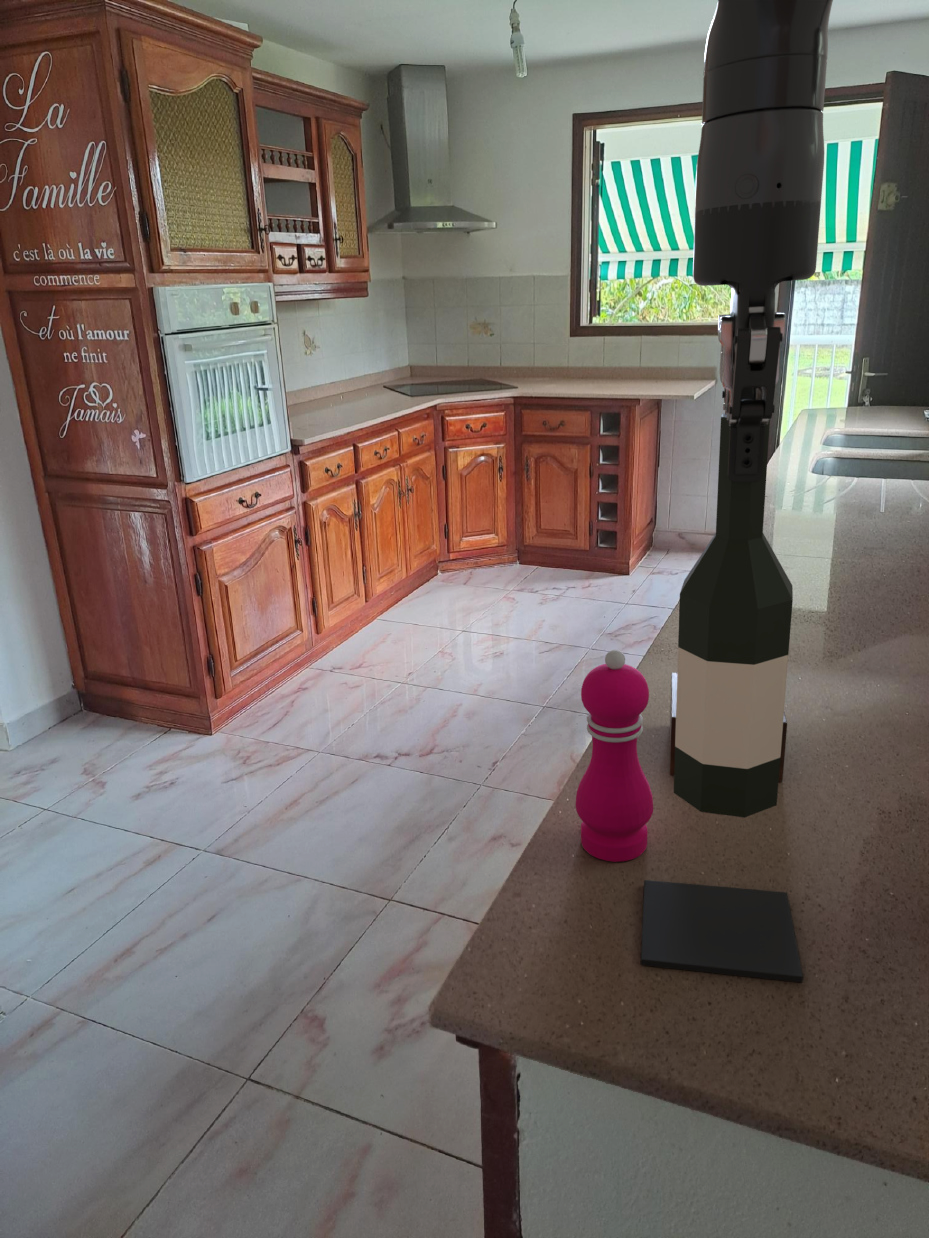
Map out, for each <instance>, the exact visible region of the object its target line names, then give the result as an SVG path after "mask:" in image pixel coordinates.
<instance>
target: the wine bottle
mask: <svg viewBox="0 0 929 1238" xmlns="http://www.w3.org/2000/svg"><path fill="white" fill-rule="evenodd" d="M728 413H729V403H728ZM765 426H766V428H765V445H764V461H763V476H762V478H761V480H759V481H758V482H732V481H730V479H729V477H728V456H729V434H730V426H729V420H727V413H726V414H725V413H722V414H721V415H720V429H719V449H718V450H719V452H718V453H719V454H718V472H717V475H718V476H717V477H718V478H717V497H716V498H717V499H716V519H715V520H716V521H715V533H714V535H713V536H712V538H711V539H710V541H709V543H708V544H707V545H706V547H705V548H704V550H703V551H702V553H701V554H700V556H699V557H698V559H697V561H696V562H695V563H694V565H693V566H692V568H691V569H690V570H689V572H688V574H687V575H686V577H685V578H684V579H683V583H682V586H681V589H680V592H679V605H678V606H679V607H678V608H679V610H678V634H677V635H678V640H677V667H676V668H677V670H676V673H677V701H676V734H675V767H674V775H673V794H675V795H676V796H678V797H679V798H681V799H682V800H683V801H685V802H686V803H687V804H689V806H691V807H693V808H694V809H695V810H697V811H699V812H700V813H707V814H713V815H721V816H730V817H736V818H743V819H745V818H747V817H749V816H753V815H756V814H757V813H761V812H763V811H766V810H768V809H771V808H774V807H776V806H777V805H778V793H779V782H778V781H779V769H780V756H781V743H782V730H783V718H784V712H785V705H786V704H785V703H786V689H787V678H788V666H789V654H790V640H791V639H790V638H791V627H792V617H793V616H792V615H793V601H794V597H793V596H794V594H793V584H792V581H791V580H790V578H789V576H788V575H787V573H786V572H785V569H784V568H783V566H782V564H781V563H780V561H779V559H778V557H777V556H776V553H775V551H774V550H773V548H772V545H771V544H770V543H769V541H768V539H767V537H766V535H765V534H764V522H765V521H764V520H765V519H764V517H765V503H766V487H767V473H768V471H767V470H768V459H769V443H770V442H769V441H770V426H771V419H769V422H768V425H765Z"/></svg>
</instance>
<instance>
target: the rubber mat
mask: <svg viewBox="0 0 929 1238" xmlns="http://www.w3.org/2000/svg"><path fill="white" fill-rule="evenodd" d="M642 900H643V901H642V923H641V924H642V925H641V944H640V945H641V947H640V965H641V966H644V967H645V966H646V967H653V968H654V967H655V968H665V969H673V970H681V971H690V972H691V971H692V972H701V973H709V974H710V973H711V974H721V975H728V976H737V977H748V978H755V979H756V978H757V979H766V980H776V981H782V982H794V983H803V981H804V974H803V970H802V969H803V968H802V964H801V958H800V954H799V948H798V944H797V943H798V942H797V938H796V937H797V936H796V932H795V927H794V921H793V918H792V917H793V916H792V911H791V906H790V900H789V895H788V892H787V891H786V892H785V891H776V890H762V889H752V888H741V887H730V886H729V887H728V886H719V885H718V886H717V885H706V884H695V883H685V882H684V883H683V882H673V881H672V882H671V881H661V880H660V881H659V880H649V879H644V880H643V897H642Z"/></svg>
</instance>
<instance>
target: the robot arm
mask: <svg viewBox="0 0 929 1238" xmlns="http://www.w3.org/2000/svg"><path fill="white" fill-rule="evenodd" d="M833 2H834V0H717V4H716V8H715V12H714V15H713V17H712V18H713V19H712V20H711V23H710V26H709V28H708V29H709V30H708V32H707V37H706V43H705V48H704V57H703V58H704V59H703V74H702V75H703V77H702V105H701V106H702V108H701V110H702V111H701V125H702V126H701V129H700V140H699V147H698V154H697V161H696V171H695V193H694V194H695V198H694V224H693V225H694V227H693V228H694V230H693V259H692V260H693V262H692V278H693V281H694V283H695V285H698V286H702V287H703V286H706V287H707V286H728V287H729V288H730V289H731V295H730V296H731V298H730V308H729V313H726V314H718V321H717V338H718V342H719V343H720V356H719V380H720V382H721V384H722V387H723V388H724V389H723V390H722V393H721V397H722V399H723V404H722V411H724V414H726V413H727V420H729V426H730V434H729V456H728V477H729V479H730V481H732V482H758V481H759V480H761V478H762V476H763V461H764V445H765V428H766V426H765V425H768V422H769V419H770V420H771V419H772V417H773V414H775V404H774V402H775V401H774V400H775V394H776V393H775V392H776V385H777V384H778V383H779V380H780V361H781V360H780V358H781V343H782V342H783V340H784V338H785V335H786V320H787V319H786V318H787V317H786V313H785V312H781V311H776V287H777V286H778V285H779V284H780V283H783V282H793V281H795V282H796V281H806V280H809V279H811V278H812V277H813V276H814V275H815V273H816V270H817V261H818V250H819V249H818V248H819V235H820V221H821V220H820V219H821V207H822V195H823V194H822V193H823V181H824V169H825V138H824V136H825V135H824V113H823V112H824V108H825V107H824V106H825V97H826V96H825V93H826V80H827V67H828V52H829V24H830V23H829V22H830V16H831V11H832V6H833ZM728 403H729V413H728Z"/></svg>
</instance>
